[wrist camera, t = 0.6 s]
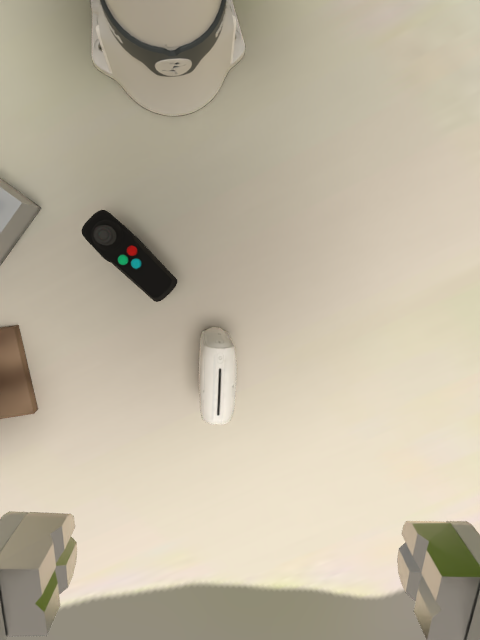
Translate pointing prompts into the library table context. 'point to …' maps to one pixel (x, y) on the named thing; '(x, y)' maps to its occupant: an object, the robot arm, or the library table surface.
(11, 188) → the trough
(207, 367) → the photo printer
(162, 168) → the library table surface
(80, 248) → the library table surface
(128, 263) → the controller
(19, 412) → the post
